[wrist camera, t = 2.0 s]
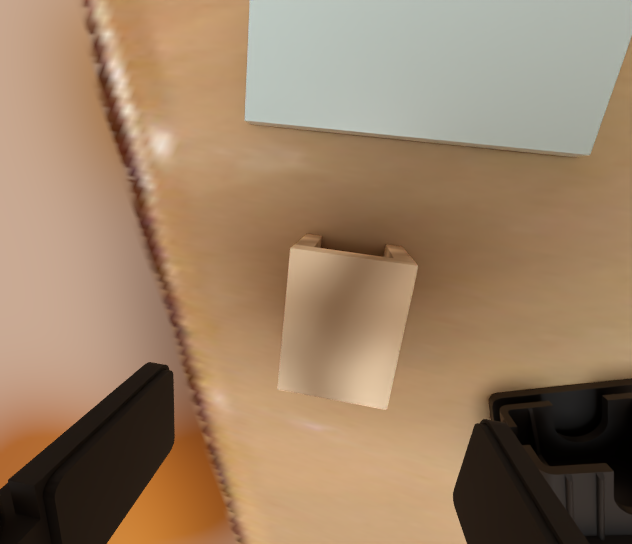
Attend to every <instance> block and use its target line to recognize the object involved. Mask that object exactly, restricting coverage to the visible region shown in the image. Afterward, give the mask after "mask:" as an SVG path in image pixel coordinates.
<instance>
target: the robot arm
mask: <svg viewBox="0 0 632 544" xmlns="http://www.w3.org/2000/svg"><path fill="white" fill-rule="evenodd" d="M173 444H174V389H173V372H172V371H169V367H168V366H167V365H162V364H157V363H151V362H149V363H147V364H145V365H144V366H142V367H141V368H140V369H139V370H138V371H136V372H135V373H134V374H133V375H132V376H131V377H129V378H128V379H127V380H126V381H125V382H124V383H122V384H121V385H120V386H119V387H118V388H116V389H115V390H114V391H113V392H112V393H110V394H109V395H108V396H107V397H106V398H105V399H103V400H102V401H101V402H100V403H99V404H98V405H96V406H95V407H94V408H93V409H91V410H90V411H89V412H88V413H87V414H86V415H84V416H83V417H82V418H81V419H80V420H79V421H77V422H76V423H75V424H74V425H73V426H71V427H70V428H69V429H68V430H67V431H66V432H64V433H63V434H62V435H61V436H60V437H58V438H57V439H56V440H55V441H54V442H53V443H51V444H50V445H49V446H48V447H47V448H45V449H44V450H43V451H42V452H41V453H40V454H38V455H37V456H36V457H35V458H33V459H32V460H31V461H30V462H29V463H28V464H26V465H25V466H24V467H23V468H22V469H20V471H18V472H17V473H16V474H15V475H14V476H12V477H11V478H10V479H9V480H8V483H7V484H6V485H5V486H4V487H3V488H1V489H0V544H107V542H108V541H109V539H110V538H111V536H112V535H113V534H114V532H115V531H116V529H117V528H118V526H119V525H120V523H121V522H122V520H123V519H124V518H125V516H126V515H127V513H128V512H129V510H130V509H131V507H132V506H133V505H134V503H135V502H136V500H137V499H138V497H139V496H140V494H141V493H142V491H143V490H144V489H145V487H146V486H147V484H148V483H149V481H150V480H151V478H152V477H153V476H154V474H155V473H156V471H157V470H158V468H159V466H160V465H161V464H162V462H163V461H164V459H165V458H166V457H167V455H168V454H169V452H170V451H171V449H172V446H173ZM453 501H454V506H455V509H456V512H457V515H458V518H459V521H460V524H461V527H462V530H463V533H464V536H465V539H466V542H467V544H589V542H588V541H587V539H586V538H585V536H584V535H583V533H582V532H581V531H580V529H579V528H578V526H577V525H576V523H575V522H574V520H573V519H572V517H571V516H570V515H569V513H568V512H567V510H566V509H565V507H564V506H563V504H562V503H561V501H560V500H559V498H558V497H557V496H556V494H555V493H554V491H553V490H552V488H551V487H550V485H549V484H548V482H547V481H546V480H545V478H544V477H543V475H542V474H541V472H540V471H539V469H538V468H537V466H536V465H535V463H534V462H533V461H532V459H531V458H530V456H529V455H528V453H527V452H526V450H525V449H524V447H523V446H522V444H521V443H520V442H519V440H518V439H517V437H516V436H515V434H514V433H513V431H512V430H511V428H510V427H509V426H508V425H507V424H506V423H504V422H499V421H493V420H487V419H483V420H482V421H481V422H480V424H479V423H477V424H475V426H474V429H473V432H472V435H471V438H470V441H469V444H468V447H467V451H466V454H465V457H464V460H463V463H462V466H461V469H460V472H459V476H458V479H457V482H456V485H455V488H454V492H453Z"/></svg>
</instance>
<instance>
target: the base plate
mask: <svg viewBox="0 0 632 544" xmlns="http://www.w3.org/2000/svg"><path fill="white" fill-rule="evenodd" d="M631 37H632V0H250V7H249V31H248V55H247V79H246V102H245V121H246V122H248V123H250V124H253V125H262V126H272V127H282V128H292V129H302V130H312V131H322V132H331V133H341V134H351V135H361V136H371V137H381V138H391V139H400V140H410V141H420V142H430V143H440V144H450V145H460V146H469V147H479V148H489V149H499V150H509V151H519V152H529V153H539V154H548V155H558V156H568V157H581V156H587V155H590V154H591V151H592V148H593V145H594V142H595V139H596V137H597V134H598V131H599V128H600V125H601V122H602V120H603V117H604V114H605V111H606V108H607V105H608V102H609V100H610V97H611V94H612V91H613V88H614V85H615V82H616V80H617V77H618V74H619V71H620V68H621V65H622V63H623V60H624V57H625V54H626V51H627V48H628V45H629V43H630V40H631Z"/></svg>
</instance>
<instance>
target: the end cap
mask: <svg viewBox="0 0 632 544" xmlns="http://www.w3.org/2000/svg"><path fill="white" fill-rule="evenodd" d="M489 407H490V417H491V420H493V421H499V422H504V423H506V424H507V425H508V426H509V427H510V428H511V430H512V431H513V433H514V434H515V436H516V437H517V439H518V440H519V442H520V443H521V444H522V446H523V447H524V449H525V450H526V452H527V453H528V455H529V456H530V458H531V459H532V461H533V462H534V463H535V465H536V466H537V468H538V469H539V471H540V472H541V474H542V475H543V477H544V478H545V480H546V481H547V482H548V484H549V485H550V487H551V488H552V490H553V491H554V493H555V494H556V496H557V497H558V498H559V500H560V501H561V503H562V504H563V506H564V507H565V509H566V510H567V512H568V513H569V515H570V516H571V517H572V519H573V520H574V522H575V523H576V525H577V526H578V528H579V529H580V531H581V532H582V533H583V535H584V536H585V538H586V539H587V541H588V542H589V544H632V379H623V380H614V381H604V382H595V383H586V384H576V385H567V386H557V387H548V388H539V389H529V390H520V391H510V392H501V393H495V394H492V395H491V396H490V398H489Z"/></svg>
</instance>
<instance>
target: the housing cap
mask: <svg viewBox="0 0 632 544" xmlns="http://www.w3.org/2000/svg"><path fill="white" fill-rule="evenodd" d="M321 242H322V236H321V235H313V234H306V235H305V236H304V237H302V238H301V239H300V240H299V241H298V242H297V243H296V244H294V245H293V246H292V247H291V248H290V257H289V268H288V279H287V289H286V300H285V311H284V322H283V333H282V344H281V355H280V366H279V377H278V388H277V390H283V391H288V392H293V393H299V394H304V395H309V396H315V397H320V398H325V399H331V400H336V401H341V402H347V403H352V404H357V405H363V406H368V407H374V408H379V409H384V410H387V407H388V402H389V398H390V393H391V389H392V384H393V380H394V375H395V371H396V366H397V361H398V357H399V352H400V348H401V343H402V339H403V334H404V330H405V325H406V320H407V316H408V311H409V307H410V302H411V298H412V293H413V289H414V284H415V279H416V275H417V270H418V265H417V264H416V262H415V261H414V260H413V259H412V258H411V257H410V255H409V254H408V253H407V252H406V251H405V249H404V248H403V247H402V246H395V245H387V244H386V246H385V252H384V257H382V256H374V255H367V254H360V253H353V252H346V251H338V250H331V249H324V248H321Z"/></svg>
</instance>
